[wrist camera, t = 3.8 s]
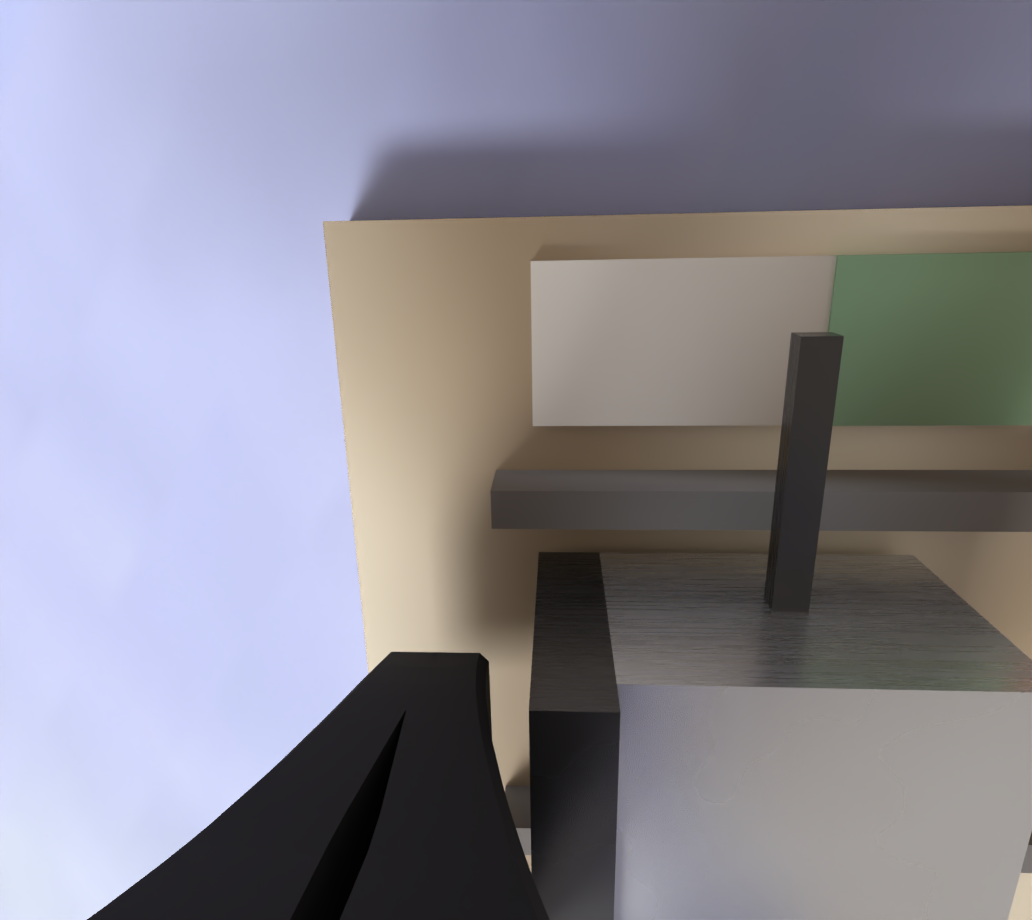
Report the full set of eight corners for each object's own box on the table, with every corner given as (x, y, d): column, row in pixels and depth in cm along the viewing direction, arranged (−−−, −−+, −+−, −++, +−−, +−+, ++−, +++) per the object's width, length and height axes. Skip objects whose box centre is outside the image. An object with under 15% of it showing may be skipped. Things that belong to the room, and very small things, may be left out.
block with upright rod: (540, 772, 10) (533, 1001, 7) (536, 323, 8) (522, 371, 5) (873, 781, 10) (1015, 1024, 7) (954, 317, 8) (1206, 367, 5)
